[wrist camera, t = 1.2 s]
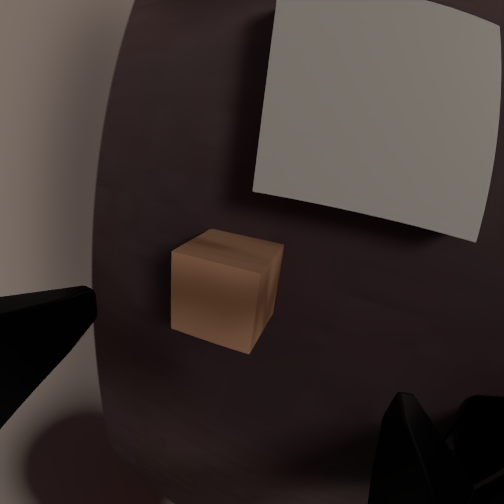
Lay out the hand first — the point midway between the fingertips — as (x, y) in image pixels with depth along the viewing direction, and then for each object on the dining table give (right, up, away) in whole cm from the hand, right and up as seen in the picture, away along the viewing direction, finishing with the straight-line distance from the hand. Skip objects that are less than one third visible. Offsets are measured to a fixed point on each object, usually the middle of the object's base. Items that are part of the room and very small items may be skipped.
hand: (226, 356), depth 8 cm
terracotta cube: (0, +1, +14) cm, 14 cm away
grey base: (+8, +11, +7) cm, 15 cm away
